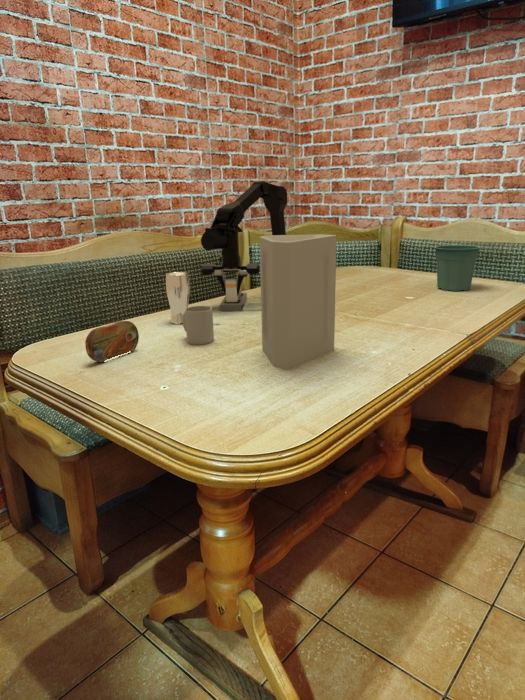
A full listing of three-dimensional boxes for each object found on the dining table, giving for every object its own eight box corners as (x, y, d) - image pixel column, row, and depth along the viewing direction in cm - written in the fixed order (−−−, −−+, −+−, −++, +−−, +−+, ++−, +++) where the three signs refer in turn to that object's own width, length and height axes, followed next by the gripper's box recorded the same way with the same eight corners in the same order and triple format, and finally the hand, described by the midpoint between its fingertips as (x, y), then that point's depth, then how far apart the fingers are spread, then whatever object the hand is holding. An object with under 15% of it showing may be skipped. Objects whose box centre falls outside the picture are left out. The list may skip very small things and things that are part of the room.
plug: (237, 301, 167) (236, 280, 165) (226, 302, 167) (225, 281, 165) (238, 299, 170) (237, 278, 168) (227, 299, 171) (226, 279, 168)
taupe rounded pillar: (288, 339, 135) (287, 232, 127) (335, 349, 126) (338, 235, 118) (240, 358, 121) (235, 239, 113) (289, 370, 112) (288, 242, 104)
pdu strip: (246, 300, 184) (246, 280, 181) (241, 313, 165) (240, 290, 162) (227, 301, 184) (226, 280, 182) (220, 313, 165) (218, 291, 163)
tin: (94, 367, 118) (89, 332, 115) (85, 364, 119) (80, 330, 117) (141, 349, 130) (137, 317, 127) (132, 348, 131) (129, 316, 129)
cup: (199, 346, 131) (197, 313, 128) (174, 340, 137) (172, 308, 135) (219, 340, 136) (217, 308, 134) (194, 334, 142) (192, 303, 140)
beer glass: (193, 319, 159) (190, 271, 155) (188, 324, 153) (185, 275, 148) (172, 319, 160) (168, 271, 155) (166, 324, 153) (162, 275, 149)
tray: (271, 307, 173) (271, 302, 173) (270, 313, 164) (270, 308, 164) (245, 307, 174) (245, 302, 173) (243, 313, 165) (242, 308, 165)
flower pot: (422, 287, 200) (425, 246, 196) (453, 283, 207) (457, 243, 202) (453, 294, 186) (457, 250, 181) (485, 289, 193) (490, 247, 188)
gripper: (260, 244, 170) (261, 289, 175) (205, 245, 172) (208, 290, 176) (258, 247, 160) (259, 296, 165) (199, 249, 161) (202, 297, 166)
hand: (232, 294), depth 168 cm, fingers closed on plug, 4 cm apart
